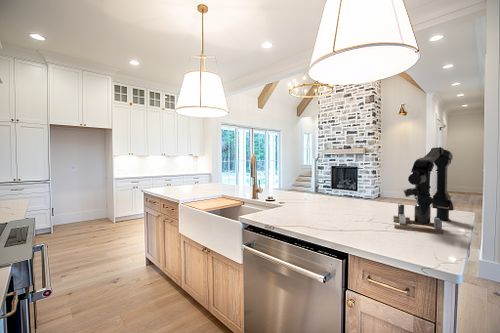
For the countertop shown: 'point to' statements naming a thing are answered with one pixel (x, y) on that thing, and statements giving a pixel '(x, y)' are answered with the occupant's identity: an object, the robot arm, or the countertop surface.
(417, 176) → the robot arm
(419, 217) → the supplement bottle
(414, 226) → the press base
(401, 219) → the bar
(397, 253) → the countertop surface
